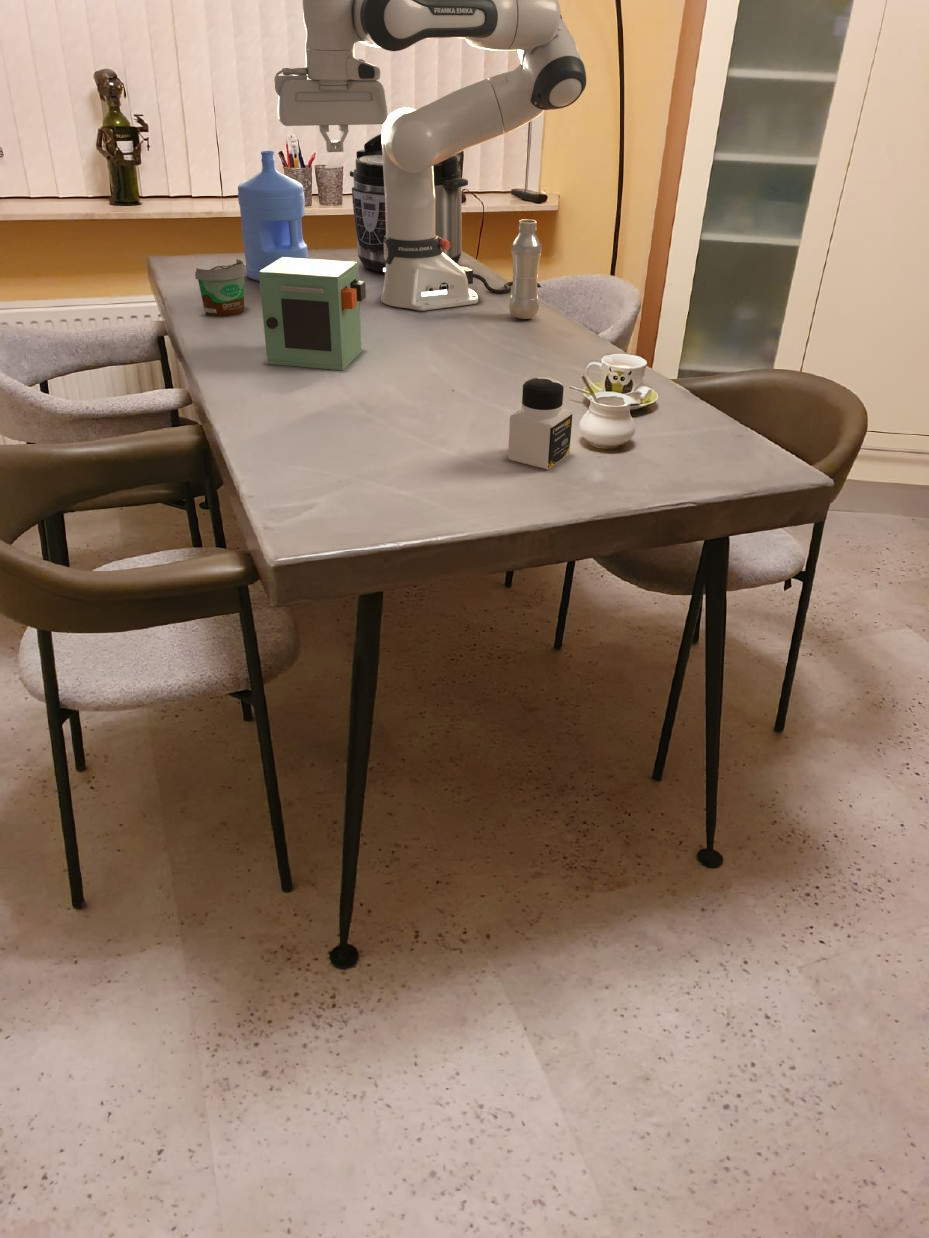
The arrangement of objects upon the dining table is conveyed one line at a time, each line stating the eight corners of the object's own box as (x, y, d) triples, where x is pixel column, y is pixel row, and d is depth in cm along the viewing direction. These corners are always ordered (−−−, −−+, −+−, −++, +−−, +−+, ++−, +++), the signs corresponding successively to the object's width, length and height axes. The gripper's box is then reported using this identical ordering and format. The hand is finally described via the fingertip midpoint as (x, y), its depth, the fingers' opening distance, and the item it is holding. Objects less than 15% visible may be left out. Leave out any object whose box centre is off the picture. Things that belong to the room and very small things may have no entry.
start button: (357, 305, 178) (356, 288, 176) (352, 309, 175) (351, 292, 174) (341, 304, 178) (340, 287, 176) (336, 308, 176) (335, 291, 174)
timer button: (365, 297, 182) (365, 281, 180) (361, 301, 180) (360, 285, 178) (350, 296, 183) (349, 280, 181) (345, 300, 180) (345, 284, 179)
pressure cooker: (338, 257, 257) (331, 124, 240) (436, 249, 267) (436, 121, 250) (374, 283, 234) (369, 139, 217) (480, 274, 244) (483, 135, 227)
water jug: (232, 276, 238) (219, 152, 223) (277, 265, 249) (267, 145, 233) (278, 286, 230) (267, 158, 215) (322, 274, 241) (315, 151, 226)
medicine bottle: (548, 470, 143) (553, 393, 137) (507, 460, 146) (510, 383, 140) (570, 455, 148) (576, 379, 142) (529, 444, 152) (533, 370, 145)
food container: (219, 322, 205) (213, 273, 200) (200, 316, 208) (193, 268, 203) (262, 309, 214) (257, 263, 208) (243, 305, 217) (238, 258, 211)
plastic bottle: (518, 323, 208) (522, 225, 197) (503, 315, 213) (506, 219, 202) (543, 320, 210) (549, 223, 199) (528, 312, 215) (532, 217, 204)
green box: (361, 351, 190) (357, 262, 181) (340, 372, 179) (335, 278, 170) (289, 345, 192) (282, 257, 183) (264, 366, 181) (255, 273, 172)
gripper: (276, 69, 169) (282, 155, 177) (388, 69, 175) (390, 152, 182) (270, 67, 174) (277, 151, 182) (380, 66, 180) (382, 148, 187)
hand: (335, 152), depth 182 cm, fingers closed
